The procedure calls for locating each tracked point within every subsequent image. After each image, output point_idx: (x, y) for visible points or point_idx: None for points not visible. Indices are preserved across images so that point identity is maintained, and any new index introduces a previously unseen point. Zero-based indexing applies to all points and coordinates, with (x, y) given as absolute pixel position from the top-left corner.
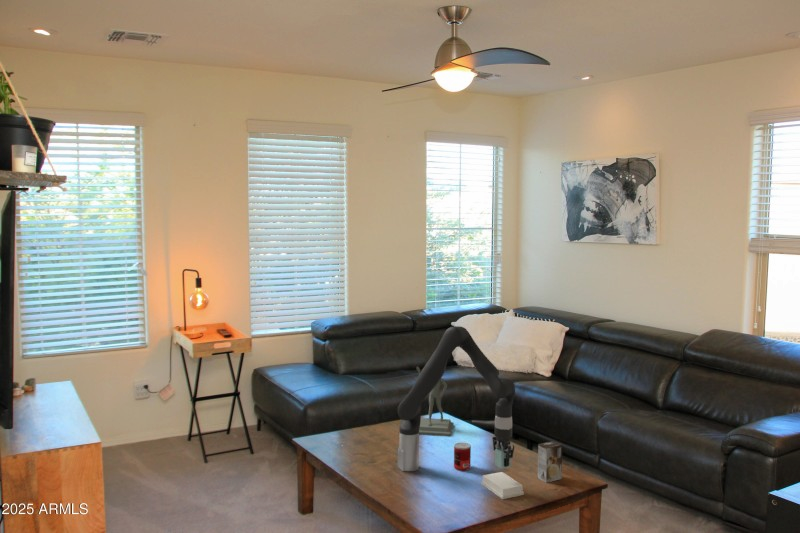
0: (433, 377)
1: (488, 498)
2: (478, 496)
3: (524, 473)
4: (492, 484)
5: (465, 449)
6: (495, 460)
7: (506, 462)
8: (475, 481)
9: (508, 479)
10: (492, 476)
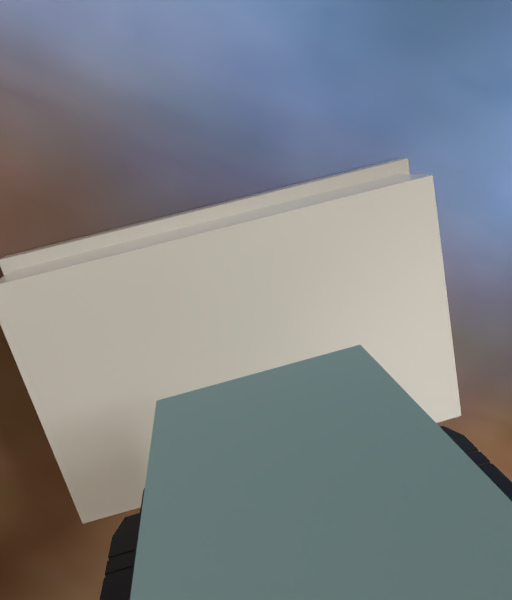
0: None
1: (39, 114)
2: (102, 14)
3: None
4: (215, 225)
5: None
6: (373, 387)
7: (106, 578)
8: (469, 120)
9: None
10: (374, 280)
